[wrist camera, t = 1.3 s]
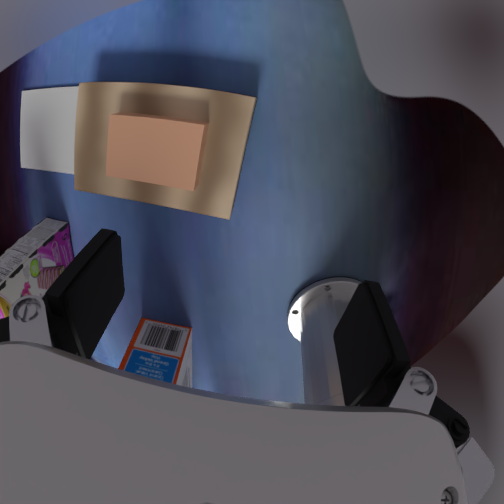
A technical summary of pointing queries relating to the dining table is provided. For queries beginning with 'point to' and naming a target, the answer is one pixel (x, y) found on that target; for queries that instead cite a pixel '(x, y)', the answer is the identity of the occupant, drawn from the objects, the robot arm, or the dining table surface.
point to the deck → (171, 105)
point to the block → (156, 149)
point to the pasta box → (160, 352)
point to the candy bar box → (34, 262)
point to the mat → (48, 129)
